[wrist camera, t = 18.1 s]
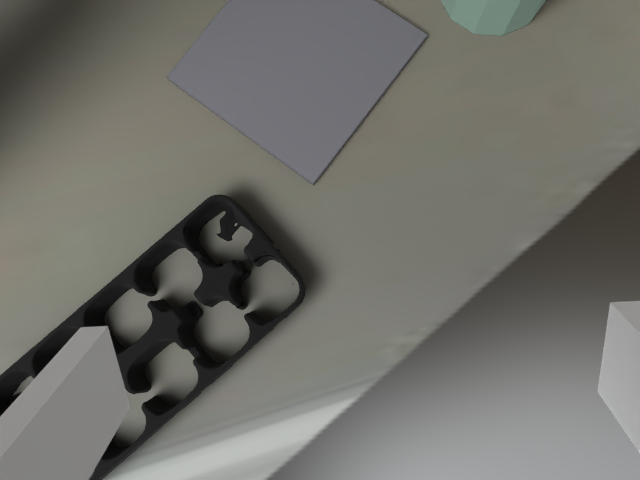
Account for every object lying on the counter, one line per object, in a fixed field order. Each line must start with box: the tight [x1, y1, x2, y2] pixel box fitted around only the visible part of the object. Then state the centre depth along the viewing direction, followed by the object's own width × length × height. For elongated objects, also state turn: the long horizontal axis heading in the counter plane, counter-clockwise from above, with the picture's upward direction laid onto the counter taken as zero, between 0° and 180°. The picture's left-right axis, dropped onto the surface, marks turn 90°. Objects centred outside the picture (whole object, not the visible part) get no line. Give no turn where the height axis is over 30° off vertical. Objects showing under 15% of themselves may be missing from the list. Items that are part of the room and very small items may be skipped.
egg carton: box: [0, 195, 305, 480], centre depth 46 cm, size 18×30×4 cm, turn 143°
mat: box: [167, 0, 427, 185], centre depth 50 cm, size 18×18×1 cm
